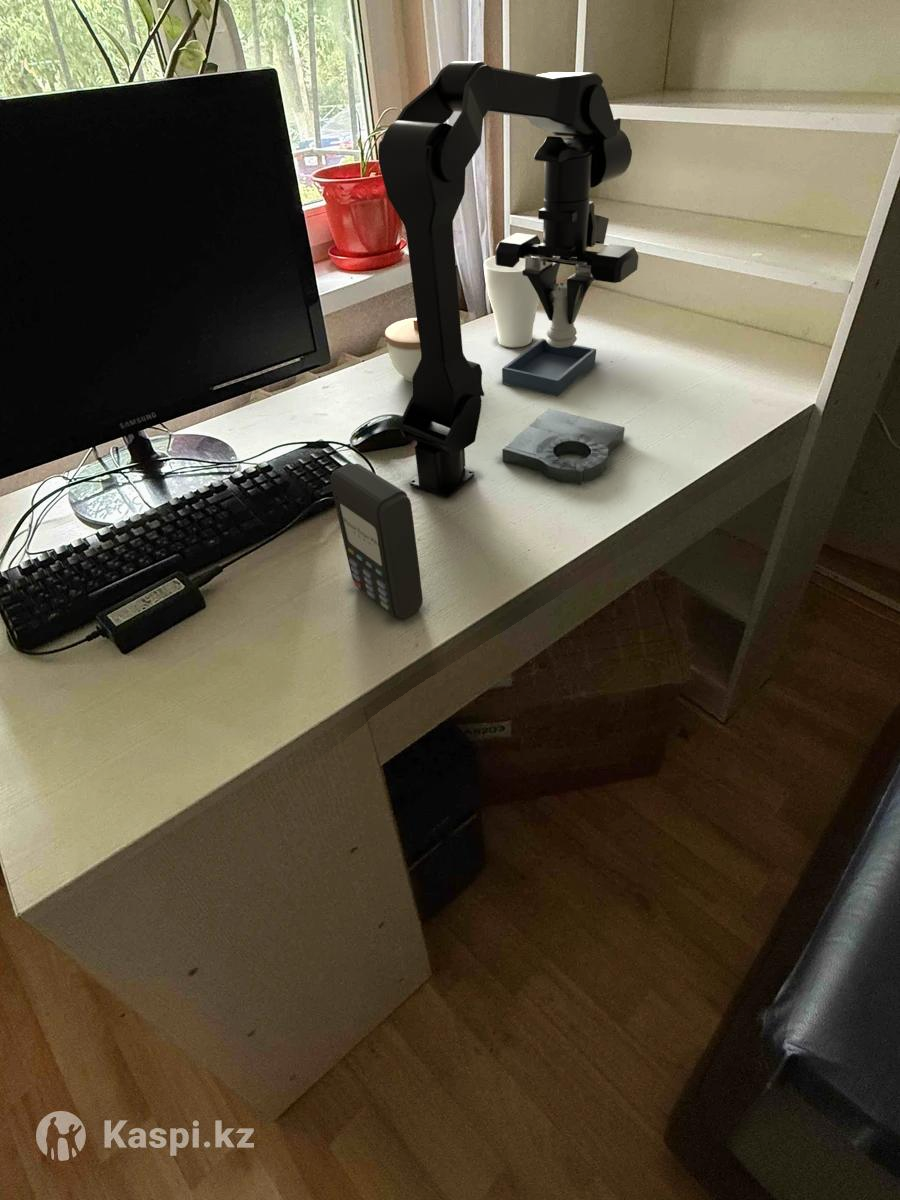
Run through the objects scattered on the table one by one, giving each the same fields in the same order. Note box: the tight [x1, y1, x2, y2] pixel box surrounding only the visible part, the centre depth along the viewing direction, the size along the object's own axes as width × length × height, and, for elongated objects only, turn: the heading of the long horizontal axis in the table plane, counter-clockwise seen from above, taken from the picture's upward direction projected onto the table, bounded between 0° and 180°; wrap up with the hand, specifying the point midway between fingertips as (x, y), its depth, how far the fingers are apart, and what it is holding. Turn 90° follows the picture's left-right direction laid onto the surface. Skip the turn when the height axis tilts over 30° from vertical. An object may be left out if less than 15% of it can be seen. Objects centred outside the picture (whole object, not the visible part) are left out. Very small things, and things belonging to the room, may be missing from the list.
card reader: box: [330, 462, 423, 620], centre depth 70 cm, size 9×4×15 cm, turn 42°
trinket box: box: [384, 317, 421, 383], centre depth 113 cm, size 11×11×9 cm
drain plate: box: [501, 408, 626, 486], centre depth 94 cm, size 14×13×2 cm
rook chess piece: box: [545, 280, 578, 348], centre depth 96 cm, size 4×4×8 cm
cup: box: [483, 255, 540, 349], centre depth 119 cm, size 10×10×14 cm
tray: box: [501, 338, 597, 397], centre depth 112 cm, size 13×10×3 cm
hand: (561, 321), depth 97 cm, fingers closed on rook chess piece, 3 cm apart
